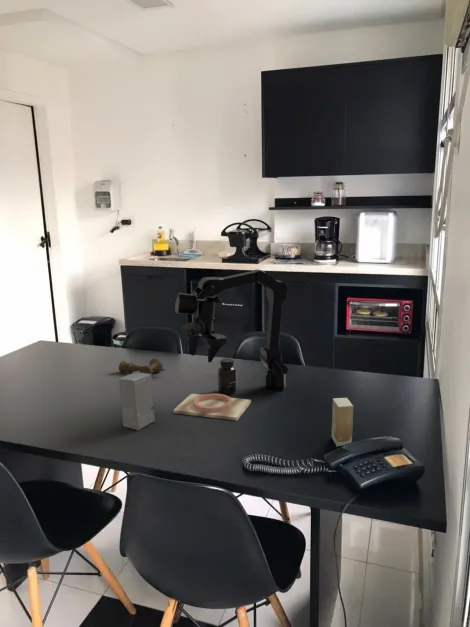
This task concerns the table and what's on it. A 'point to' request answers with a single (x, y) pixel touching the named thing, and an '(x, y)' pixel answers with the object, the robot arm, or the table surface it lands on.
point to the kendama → (141, 367)
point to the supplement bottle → (227, 377)
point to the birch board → (230, 414)
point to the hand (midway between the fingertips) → (201, 358)
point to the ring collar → (212, 409)
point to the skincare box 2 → (342, 421)
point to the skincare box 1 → (137, 400)
